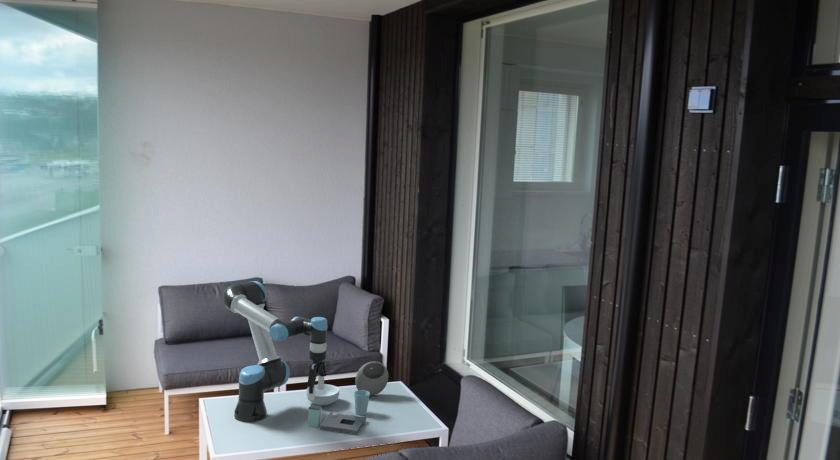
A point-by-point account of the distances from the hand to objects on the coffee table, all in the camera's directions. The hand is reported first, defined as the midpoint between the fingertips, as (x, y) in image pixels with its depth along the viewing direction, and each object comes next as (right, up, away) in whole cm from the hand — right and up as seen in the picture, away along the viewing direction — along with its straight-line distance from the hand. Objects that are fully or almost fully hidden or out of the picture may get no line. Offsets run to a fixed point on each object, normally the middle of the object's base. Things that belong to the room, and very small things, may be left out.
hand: (316, 394), depth 328 cm
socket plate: (+12, -15, +4) cm, 20 cm away
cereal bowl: (-1, -11, +29) cm, 31 cm away
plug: (-1, -15, +2) cm, 15 cm away
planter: (+23, -11, +43) cm, 50 cm away
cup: (+19, -14, +20) cm, 31 cm away
